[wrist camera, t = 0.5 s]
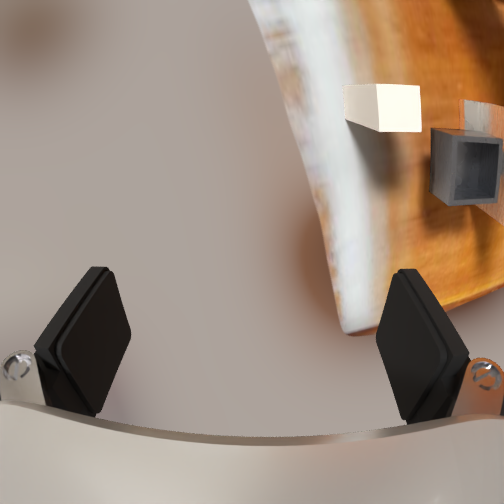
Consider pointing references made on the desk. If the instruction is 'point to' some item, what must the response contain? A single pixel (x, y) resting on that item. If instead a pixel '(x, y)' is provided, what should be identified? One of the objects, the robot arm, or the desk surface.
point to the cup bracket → (471, 159)
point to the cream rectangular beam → (383, 106)
